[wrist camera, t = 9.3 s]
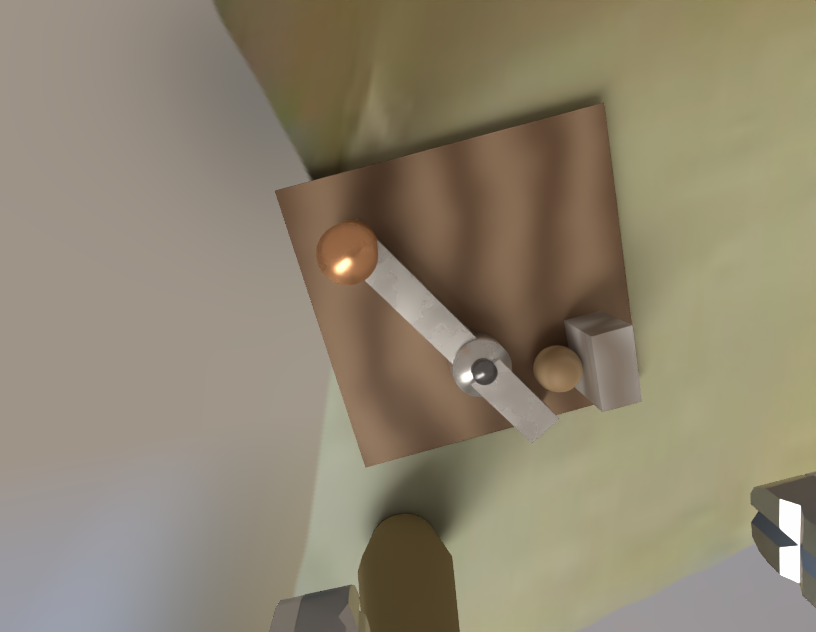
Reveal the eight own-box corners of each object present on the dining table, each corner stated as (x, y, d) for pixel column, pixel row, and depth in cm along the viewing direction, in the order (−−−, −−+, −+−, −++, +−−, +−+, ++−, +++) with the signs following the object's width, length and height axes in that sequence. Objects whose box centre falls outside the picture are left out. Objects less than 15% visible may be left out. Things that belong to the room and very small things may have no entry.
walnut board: (595, 106, 31) (641, 85, 26) (631, 386, 37) (675, 416, 32) (278, 191, 31) (258, 188, 26) (365, 459, 37) (364, 502, 31)
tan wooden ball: (566, 334, 34) (587, 348, 31) (572, 374, 35) (594, 393, 32) (522, 346, 34) (539, 362, 31) (530, 386, 35) (548, 405, 32)
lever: (359, 203, 30) (354, 201, 21) (552, 396, 35) (610, 458, 26) (317, 247, 31) (295, 263, 22) (512, 431, 36) (557, 503, 27)
